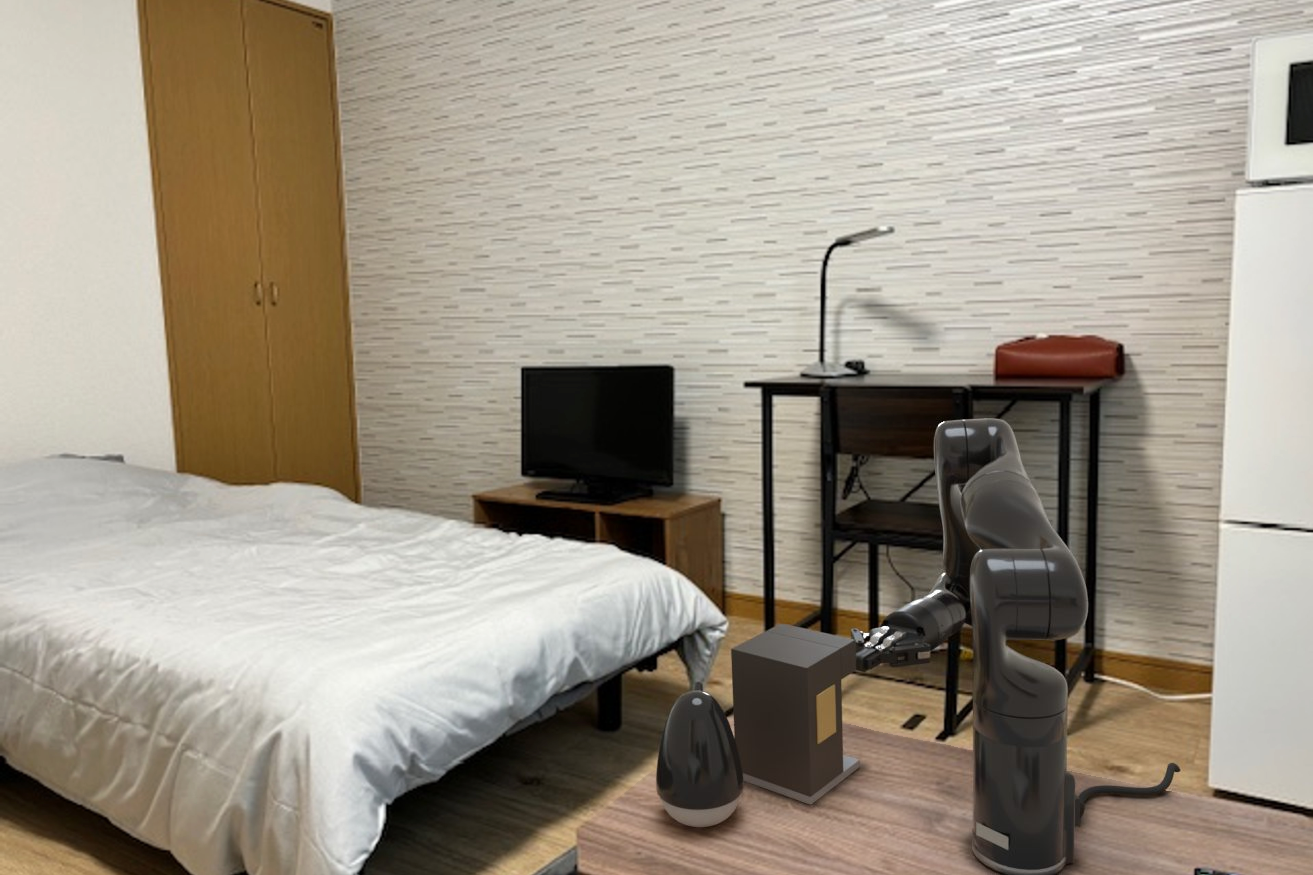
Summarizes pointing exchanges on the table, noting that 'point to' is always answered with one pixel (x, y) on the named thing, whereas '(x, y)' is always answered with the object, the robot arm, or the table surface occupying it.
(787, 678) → the box
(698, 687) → the pump dispenser
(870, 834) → the table surface
